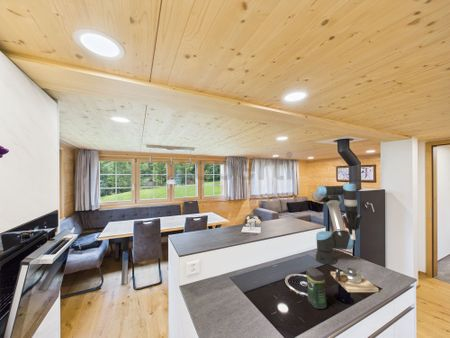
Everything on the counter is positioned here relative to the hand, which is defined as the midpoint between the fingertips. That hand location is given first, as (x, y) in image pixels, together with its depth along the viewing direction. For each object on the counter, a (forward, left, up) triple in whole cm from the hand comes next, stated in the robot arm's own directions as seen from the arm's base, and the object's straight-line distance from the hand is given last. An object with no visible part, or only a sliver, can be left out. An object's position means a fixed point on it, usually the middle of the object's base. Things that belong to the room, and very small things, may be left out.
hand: (353, 239), depth 126 cm
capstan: (+7, -10, -24) cm, 27 cm away
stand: (+6, -6, -26) cm, 28 cm away
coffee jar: (+26, -38, -27) cm, 53 cm away
